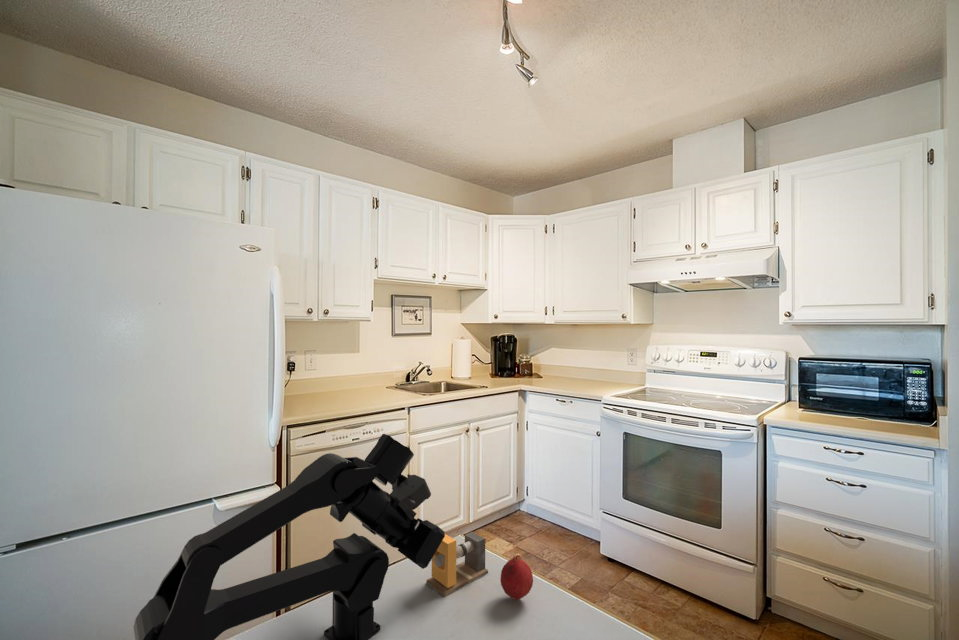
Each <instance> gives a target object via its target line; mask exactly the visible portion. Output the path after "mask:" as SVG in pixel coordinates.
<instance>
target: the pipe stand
mask: <svg viewBox="0 0 959 640" xmlns="http://www.w3.org/2000/svg"><path fill="white" fill-rule="evenodd" d="M463 557H464V560H463V562H461V563H458V564H456V584H455V585H453V586H451V587H449V588H447V587H446V586H444V585H443V584H441V583H440V582H439V581H437V580H436V579H434V578H433V577H432V576H431V577H430V578H427V579H426V580H425V581H426V582H425V583H426V585H428V586H429V587H431V588H432V589H434V590H435V591H436V592H438V593H439V594H441V595H442V596H443V597H447V596H448V595H450V594H452V593H454V592H456V591H458V590H460V589H461V588H463V587H465V586H467V585H469V584H471V583H472V582H474V581H476V580H477V579H480V578H481V577H484V576H485V575H487V574H489V570H488V569H487V568H486V538H485V537H483V536H481V535H479V534H477V533H475V532H474V531H470V532H468V533H465V534H464V543H459V544H458V545H456V560H458V559H460V558H463ZM434 562H435V564H436V566H437V567H441V566H443V565H445V556H444V555H443V554H439V555H437V556H435V558H434Z"/></svg>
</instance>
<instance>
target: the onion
mask: <svg viewBox="0 0 959 640" xmlns="http://www.w3.org/2000/svg"><path fill="white" fill-rule="evenodd" d="M521 558H522V555H521V554H520V553H515V554H514V556H513V557H512V558H511V559H509V560H508V561H507V562H506V563H505V564H504V565H503V566H502V569H501V573H500V578H499V579H500V585H501V587H502V590H503V591H504V593H505V594H506V595H507V596H508V597H510V598H511V599H513V600H516V601H520V600H521V599H523V598H524V597H526V596H527V595H528V594H529V593H530V591H531V590H532V588H533V585H534V576H533V571H532V569H531V567H530V566H529V565H528V563H527V562H526V561H524V560H523V559H521Z"/></svg>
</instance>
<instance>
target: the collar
mask: <svg viewBox="0 0 959 640" xmlns="http://www.w3.org/2000/svg"><path fill="white" fill-rule="evenodd" d="M456 547H457V540H456V539H454V538H453V537H451V536H449V535H448V534H446V533H445V537H444V539H443V540H442V542H441V544H440V546H439V547H438V549H437V551H436V552H435V554H434V556H433V558H432V559H431V578H432V577H433V578H434V579H436V580H437V581H439V582H440V583H441V584H443V585H444V586H446V587H447V588H449V587H451V586H453V585H455V584H456V565H457V559H456ZM439 554H443V555H444V556H445V565H443V566H441V567H437V566H436V564H435V562H434V558H435V556H437V555H439Z"/></svg>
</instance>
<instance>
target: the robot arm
mask: <svg viewBox="0 0 959 640" xmlns="http://www.w3.org/2000/svg"><path fill="white" fill-rule="evenodd" d="M414 456H415V454H414V452H413V451H412V450H411V449H410V448H409V447H408V446H405V445H403V444H402V443H400V442H399V441H397V440H396V439H394V438H393V437H392V436H391V435H389V434H386V433H382V435H381V436H380V437H379V438H378V440H377V442H376V444H375V445H374V447H372V449H371V450H370V452H369V453H368V455H367V456H366V457H365V458H364V459H362V458H360V457H357V456H350V457H344V456H343V457H342V456H341V455H339V454H335V453H332V452H331V453H330V452H329V453H326V454H323V455H321V456H319V457H318V458H317V459H315V460H314V461H312V462H311V463H310V464H309V465H306V467H305V468H304V469H303V470H302V471H301V472H300V473H299V474H298V475H297V477H296V478H295V479H294V480H293V481H291V482H290V483H289V484H288V485H287V486H285V487H283V488H281V489H280V490H278V491H276V492H275V493H272V494H271V495H268V496H267V497H266V498H263V499H262V500H260V501H258V502H257V503H255V504H253V505H251V506H250V507H248V508H246V509H245V510H244V509H243V511H240V512H239V513H238V514H235V515H234V516H232V517H230V518H229V519H227V520H225V521H223V522H221V523H220V524H218V525H216V526H214V527H212V528H211V529H208V530H207V531H206V532H203V533H200V534H197V535H195V536H193V537H191V538H190V539H189V540H188V541H187V542H186V544H185V545H184V546H183V548H182V551H181V552H180V555H179V556H178V558H177V560H176V561H175V562H174V564H173V565H172V566H171V568H170V569H169V570H168V571H167V573H166V575H165V576H164V577H163V579H162V580H161V582H160V584H159V586H158V588H157V590H156V591H155V594H154V595H153V598H151V599H150V600H149V601H148V602H147V603H146V604H145V606H144V607H142V608H141V609H140V611H139V612H138V614H137V616H136V617H135V619H134V620H135V621H134V624H133V633H134V640H216V639H218V637H219V636H221V634H222V633H224V632H226V631H228V630H230V629H232V628H235V627H238V626H241V625H243V624H246V623H248V622H252V621H255V620H257V619H259V618H262V617H265V616H268V615H270V614H273V613H276V612H278V611H281V610H284V609H286V608H288V607H291V606H294V605H297V604H300V603H302V602H305V601H308V600H311V599H313V598H317V597H319V596H322V595H323V594H327V593H329V592H332V621H331V626H329V627H328V628H326V629H325V630H324V631H323V636H324V637H326V638H327V639H328V640H368V639H370V638H371V637H372V636H374V635H375V634H376V633H378V632H380V630H381V624H379V623H378V622H376V621H375V620H374V619H375V607H374V602H375V601H377V600H379V598H380V596H381V591H382V588H383V585H384V581H385V577H386V574H387V572H388V569H389V565H390V561H389V556H388V553H387V552H386V551H384V549H382V548H381V547H379V546H378V545H376V543H374V542H372V541H371V540H370V539H368V538H367V537H365V536H364V535H358V534H357V533H355V532H353V533H352V534H350V535H348V536H346V537H342V538H341V537H340V538H336V539H334V540H333V542H332V544H333V549H332V550H331V551H330V552H328V553H327V554H326V555H325V556H324V557H321V558H319V559H315V560H313V561H309V562H306V563H302V564H299V565H297V566H293V567H289V568H287V569H284V570H280V571H277V572H274V573H271V574H268V575H265V576H264V575H263V576H261V577H258V578H255V579H252V580H249V581H245V582H242V583H239V584H236V585H235V584H234V585H233V586H229V587H225V588H221V589H214V588H213V583H214V580H215V578H216V575H217V573H218V571H219V570H220V568H221V566H223V565H224V564H225V563H227V562H229V561H231V560H233V558H235V557H237V556H238V555H240V554H242V553H243V552H245V551H247V550H248V549H249V548H251V547H252V546H254V545H256V544H258V543H259V542H260V541H262V540H264V539H266V538H267V537H268V536H270V535H272V534H274V533H275V532H276V531H278V530H279V529H281V528H283V527H284V526H287V525H288V524H289V523H291V522H293V521H294V520H296V519H297V518H299V517H300V516H302V515H304V514H306V513H308V512H311V511H314V510H319V509H322V508H323V509H324V508H327V507H330V511H329V515H330V516H331V517H332V518H334V519H335V520H336V521H337V522H339V523H342V522H343V521H344V520H345V519H346V517H347V516H348V515H349V514H351V516H353V517H354V518H355V519H357V520H358V521H359V522H360V523H361V527H363V528H365V529H366V530H367V531H368V532H369V533H371V534H373V536H376V535H378V536H379V537H380V538H382V539H383V540H384V541H385V543H386V544H388V546H389V545H390V547H392V548H395V549H397V551H398V552H399V553H400V554H402V555H403V556H404V557H406V558H407V559H408V560H410V561H411V562H412V563H414V564H415V565H417V566H418V567H420V568H421V569H422V570H423V569H426V568H427V567H428V566H429V564H430V562H432V558H433V556H434V554H435V552H436V551H437V549H438V547H439V546H440V544H441V542H442V540H443V539H444V537H445V534H446V531H444V530H443V528H441V527H440V526H438V525H436V524H435V523H433V522H431V521H429V520H427V519H425V520H423V519H421V518H419V517H418V518H415V517H416V516H417V512H415V511H414V510H416V509H417V508H418V507H419V506H421V504H423V502H425V501H427V500H428V499H429V498H430V497H431V496H432V492H431V489H430V487H429V486H428V483H427V481H426V479H425V478H424V477H421V476H419V475H417V474H410V473H408V474H407V475H403V474H402V473H403V472H404V471H405V469H406V468H407V466H408V465H409V463H410V462H411V460H412V458H413V457H414ZM374 480H375V481H376V482H378V483H380V484H381V485H383V486H387V485H388V483H389V484H390V485H391V489H392V491H391V492H390V493H388V491H385V490H383V489H382V488H381V487H380V486H379V485H377V484H376V483H375V482H374ZM212 588H213V589H212Z"/></svg>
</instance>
